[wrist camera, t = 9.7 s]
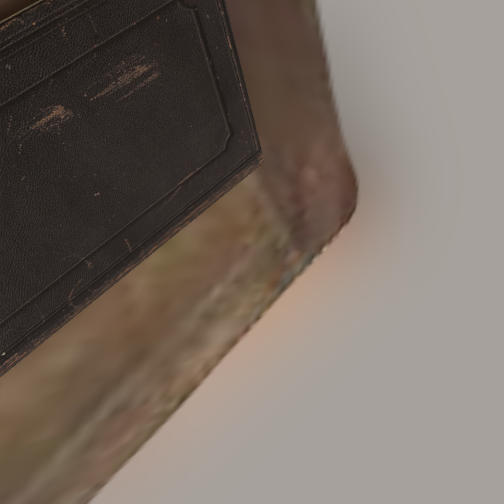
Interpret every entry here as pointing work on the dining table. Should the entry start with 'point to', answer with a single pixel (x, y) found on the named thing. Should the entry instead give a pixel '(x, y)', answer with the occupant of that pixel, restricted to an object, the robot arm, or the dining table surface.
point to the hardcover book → (108, 147)
